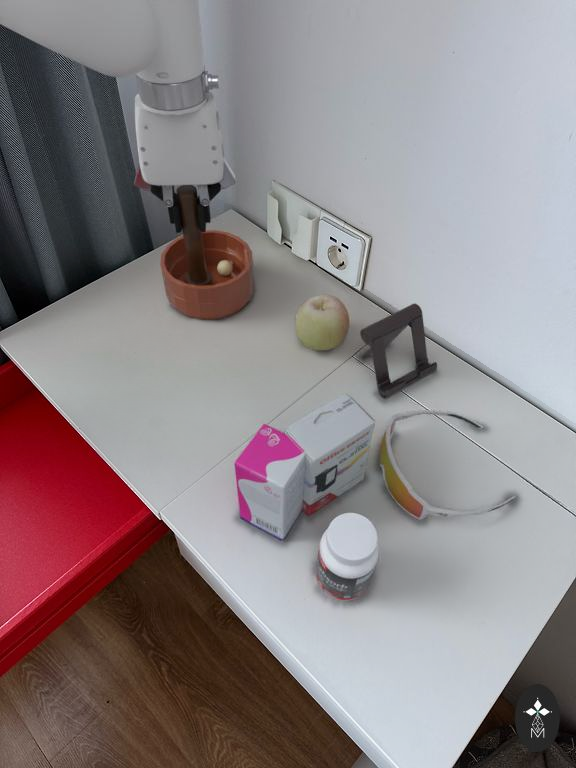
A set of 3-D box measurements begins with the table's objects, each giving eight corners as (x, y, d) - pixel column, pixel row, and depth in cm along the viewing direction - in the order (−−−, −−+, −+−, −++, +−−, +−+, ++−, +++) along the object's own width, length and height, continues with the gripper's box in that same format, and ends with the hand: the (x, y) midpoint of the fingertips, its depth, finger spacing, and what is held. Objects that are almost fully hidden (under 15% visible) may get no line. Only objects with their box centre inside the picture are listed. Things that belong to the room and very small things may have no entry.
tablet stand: (384, 402, 75) (394, 360, 68) (348, 364, 79) (354, 321, 72) (434, 374, 78) (448, 331, 71) (397, 339, 82) (407, 295, 76)
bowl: (164, 323, 84) (156, 289, 78) (170, 265, 92) (164, 231, 87) (254, 320, 84) (253, 286, 79) (253, 262, 92) (251, 228, 87)
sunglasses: (361, 429, 72) (371, 405, 68) (470, 424, 75) (485, 400, 71) (392, 534, 63) (407, 513, 59) (514, 523, 66) (534, 502, 63)
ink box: (307, 518, 64) (311, 463, 55) (281, 487, 67) (282, 429, 58) (365, 479, 68) (378, 421, 58) (338, 450, 70) (347, 390, 61)
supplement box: (309, 500, 66) (313, 445, 57) (283, 542, 62) (283, 491, 53) (265, 477, 67) (263, 421, 58) (238, 518, 64) (231, 464, 55)
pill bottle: (304, 574, 60) (308, 533, 53) (340, 538, 63) (349, 495, 55) (345, 614, 58) (355, 578, 50) (381, 575, 60) (396, 535, 53)
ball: (213, 274, 89) (216, 263, 87) (219, 265, 90) (223, 254, 88) (226, 281, 89) (230, 270, 87) (232, 272, 90) (236, 261, 88)
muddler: (185, 292, 85) (169, 198, 73) (186, 274, 87) (171, 181, 75) (212, 291, 85) (201, 198, 73) (212, 273, 87) (202, 180, 75)
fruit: (336, 366, 79) (341, 325, 72) (287, 350, 80) (287, 308, 74) (354, 330, 83) (360, 288, 77) (307, 315, 85) (310, 273, 79)
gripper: (244, 71, 67) (250, 209, 81) (103, 73, 66) (134, 212, 80) (245, 101, 62) (251, 241, 76) (93, 103, 61) (128, 245, 76)
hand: (191, 225), depth 78 cm, fingers closed on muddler, 2 cm apart
